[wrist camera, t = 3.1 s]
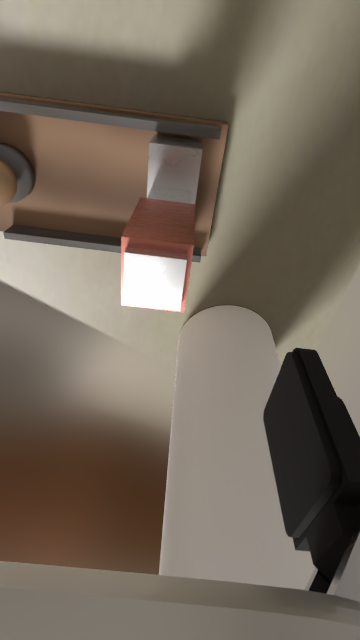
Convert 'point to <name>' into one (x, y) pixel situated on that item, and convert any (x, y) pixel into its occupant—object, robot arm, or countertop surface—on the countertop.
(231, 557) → the cylinder container
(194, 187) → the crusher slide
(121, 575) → the robot arm
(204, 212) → the nutcracker board
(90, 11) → the countertop surface
